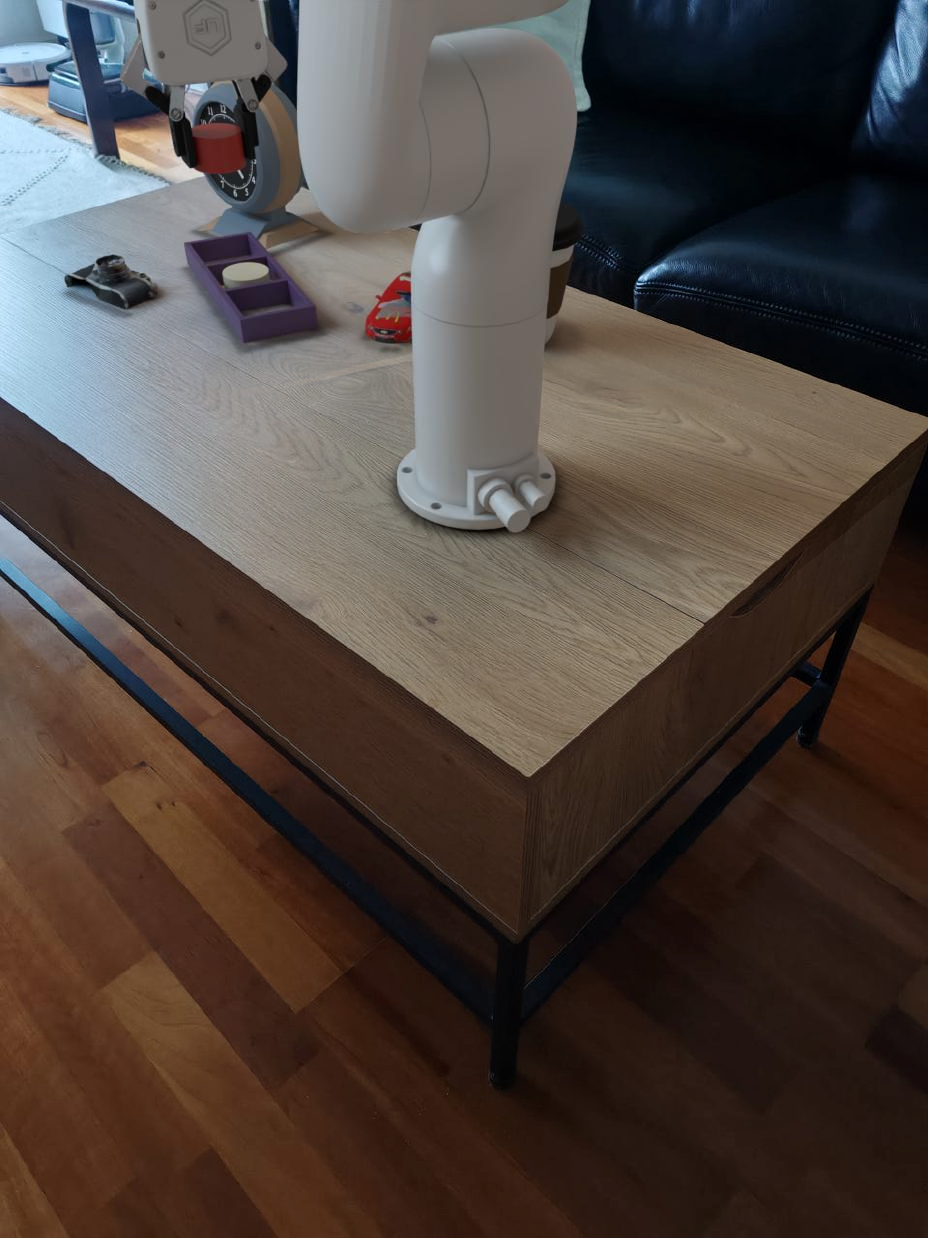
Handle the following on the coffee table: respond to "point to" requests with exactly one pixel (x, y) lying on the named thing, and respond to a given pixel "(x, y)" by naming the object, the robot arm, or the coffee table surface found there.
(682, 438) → the coffee table surface
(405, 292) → the race car
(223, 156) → the cylinder
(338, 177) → the robot arm
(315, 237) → the coffee table surface
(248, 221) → the alarm clock
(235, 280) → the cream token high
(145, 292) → the camera
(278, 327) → the board
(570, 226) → the coffee cup
